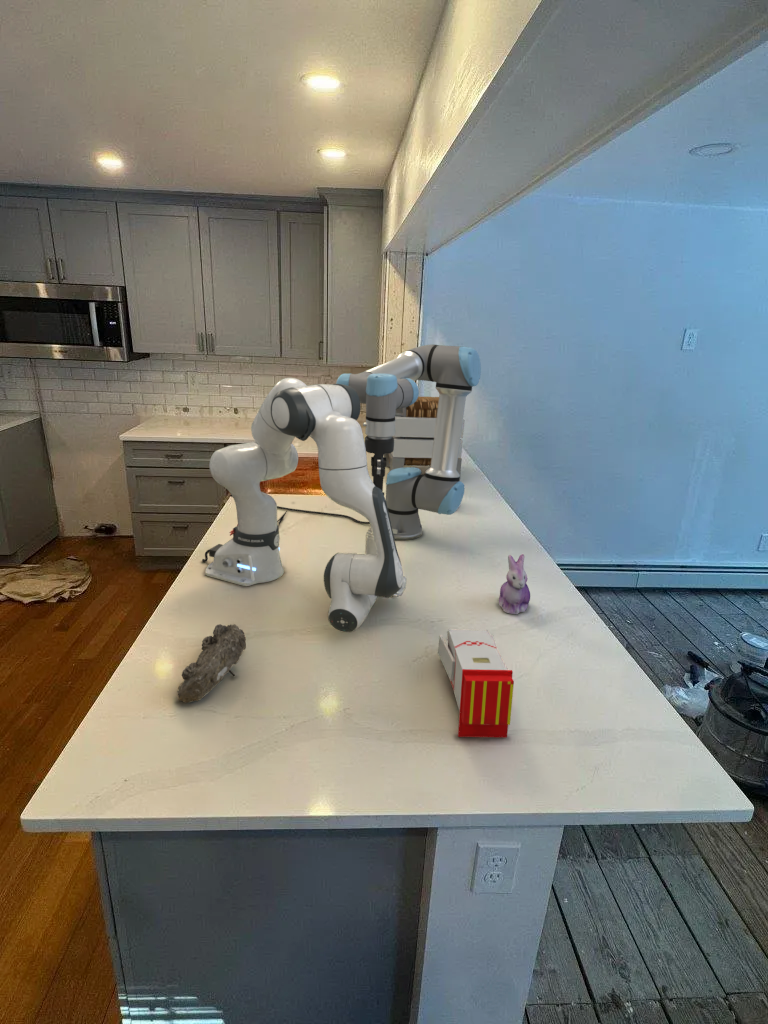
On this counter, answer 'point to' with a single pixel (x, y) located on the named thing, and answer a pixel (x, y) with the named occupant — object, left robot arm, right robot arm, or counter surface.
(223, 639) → the fossil
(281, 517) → the feather
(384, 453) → the right robot arm
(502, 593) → the figurine
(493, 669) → the toy
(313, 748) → the counter surface
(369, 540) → the bottle
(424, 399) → the grey slatted crate
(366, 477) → the left robot arm
